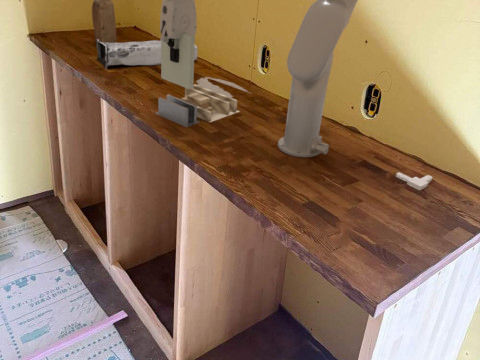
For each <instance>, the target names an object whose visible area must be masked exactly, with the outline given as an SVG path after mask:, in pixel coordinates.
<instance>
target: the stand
mask: <svg viewBox="0 0 480 360" xmlns="http://www.w3.org/2000/svg"><path fill="white" fill-rule="evenodd" d="M166 95H167V97H166V98H163V97H161V96H160V97H158V98H157V99H158V103H157V104H158V107H157V108H158V111H157V112H156V111H155V113H154V114H156V115H158V116H159V117H162V118H165V119H166V120H169V121H171V122H174V123H175V124H177V125H178V124H179V125H180V126H182V127H185V128H188V127H191V126H194V125H196V124H199V123H200V120H197V118H198V117H197V106H196V105H194V104H191V103H189V102H186V101H184V100H181V98H179V97H176V96H173V95H172V94H166Z"/></svg>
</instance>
